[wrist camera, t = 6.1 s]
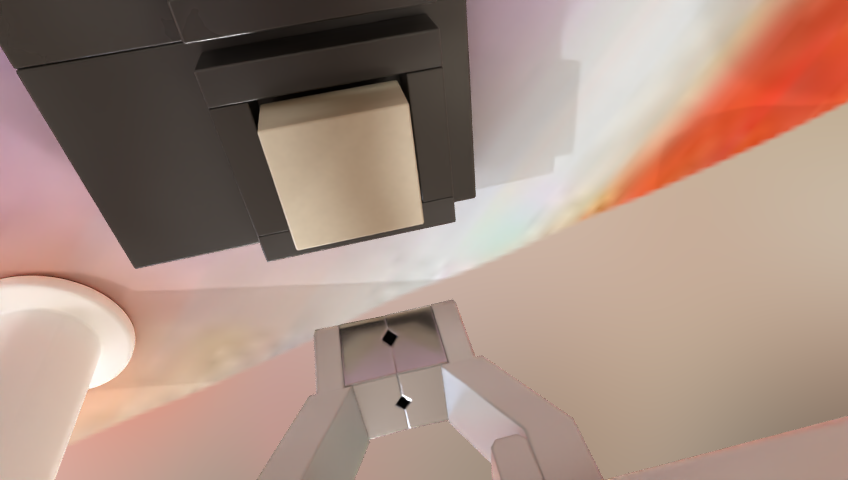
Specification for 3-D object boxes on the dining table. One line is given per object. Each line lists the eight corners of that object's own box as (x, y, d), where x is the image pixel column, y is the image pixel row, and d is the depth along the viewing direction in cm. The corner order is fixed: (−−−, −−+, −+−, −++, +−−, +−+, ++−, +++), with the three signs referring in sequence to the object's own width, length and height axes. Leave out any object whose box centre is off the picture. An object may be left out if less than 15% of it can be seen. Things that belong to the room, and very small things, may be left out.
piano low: (146, 237, 22) (123, 301, 19) (40, 48, 17) (-14, 93, 14) (462, 172, 23) (489, 222, 20) (449, -19, 19) (482, 8, 15)
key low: (295, 217, 19) (296, 251, 17) (259, 103, 16) (256, 132, 15) (413, 193, 19) (424, 224, 18) (397, 78, 17) (409, 103, 15)
